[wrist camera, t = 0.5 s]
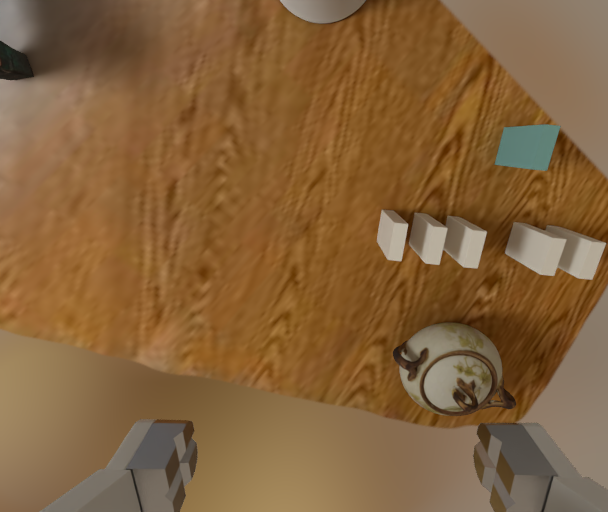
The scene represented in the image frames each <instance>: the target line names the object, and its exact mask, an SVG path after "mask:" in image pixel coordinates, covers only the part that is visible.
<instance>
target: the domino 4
mask: <svg viewBox="0 0 608 512" xmlns="http://www.w3.org/2000/svg"><path fill="white" fill-rule="evenodd" d="M566 240H567V239H565V238H562V237H560V236H557V235H555V234H552V233H550V232H547V231H544V230H542V229H539V228H537V227H534V226H532V225H529V224H527V223H518V222H514V223H513V227H512V230H511V234H510V237H509V240H508V244H507V247H506V251H505V254H507V255H508V256H510V257H512V258H513V259H515V260H517V261H518V262H520V263H522V264H523V265H525V266H527V267H528V268H530V269H532V270H533V271H535V272H537V273H539V274H540V275H550V276H554V275H555V272H556V269H557V266H558V263H559V260H560V257H561V254H562V252H563V249H564V246H565V243H566Z"/></svg>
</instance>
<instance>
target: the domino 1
mask: <svg viewBox="0 0 608 512" xmlns="http://www.w3.org/2000/svg"><path fill="white" fill-rule="evenodd" d="M407 229H408V223H407V222H406V221H404V220H403V219H402V218H401V217H400V216H399V215H398V214H397V213H396V212H395V211H393V210H382V212H381V218H380V224H379V230H378V236H377V242H378V244H379V246H380V247H381V249H382V251H383V253H384V254H385V256H386V258H387V259H388V260H395V261H401V260H402V255H403V250H404V245H405V239H406V234H407Z"/></svg>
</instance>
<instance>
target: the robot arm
mask: <svg viewBox="0 0 608 512" xmlns="http://www.w3.org/2000/svg"><path fill="white" fill-rule="evenodd" d="M280 1H281V2H282V4H283V5H284V6H285V7H286V8H287V9H288V10H289V11H290V12H292V13H293V14H294V15H296V16H297V17H299V18H301V19H303V20H306V21H309V22H313V23H331V22H336V21H339V20H342V19H344V18H346V17H348V16H349V15H351V14H352V13H354V12H355V11H356V10H358V9H359V8H360V7H361V6H362V5H363V4H364V2H365V1H366V0H280ZM193 433H194V427H193V423H192V421H186V420H158V419H157V420H147V419H140V420H139V421H137V422H136V423H135V424H134V426H133V427H132V429H131V430H130V432H129V433H128V435H127V436H126V438H125V439H124V441H123V442H122V444H121V446H120V447H119V448H118V450H117V452H116V453H115V455H114V456H113V458H112V459H111V461H110V462H109V464H108V465H107V467H106V469H100V470H98V471H97V472H95V473H94V474H92V475H91V476H89V477H88V478H87V479H85V480H84V481H82V482H81V483H80V484H78V485H77V486H75V487H74V488H72V489H71V490H70V491H68V492H67V493H65V494H64V495H63V496H61V497H60V498H58V499H57V500H56V501H54V502H53V503H51V504H50V505H48V506H47V507H46V508H44V509H43V510H41V511H40V512H180V509H181V507H182V504H183V502H184V499H185V496H186V495H185V489H184V486H185V485H187V483H189V482H190V481H191V480H192V477H193V475H194V472H195V468H196V463H197V444H196V442H195V441H194V440H193V439H192V435H193ZM477 435H478V437H479V439H480V442H479V443H478V444H476V445H475V447H474V455H473V457H474V465H475V469H476V473H477V475H478V478H479V480H480V482H481V484H482V486H484V487H485V488H486V489H487V490H488V491H489V492H491V497H490V504H491V506H492V508H493V510H494V512H608V490H607V489H606V488H604V487H603V486H601V485H600V484H598V483H597V482H595V481H593V480H592V479H590V478H589V477H582V476H581V475H580V474H579V472H578V471H577V470H576V468H575V467H574V466H573V465H572V463H571V462H570V461H569V460H568V458H567V457H566V456H565V454H564V453H563V452H562V451H561V449H560V448H559V447H558V446H557V444H556V443H555V442H554V441H553V439H552V438H551V437H550V435H549V434H548V433H547V432H546V430H545V429H544V428H543V427H542V426H541V425H540V424H538V423H480V425H479V426H478V429H477Z"/></svg>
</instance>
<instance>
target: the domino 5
mask: <svg viewBox="0 0 608 512" xmlns="http://www.w3.org/2000/svg"><path fill="white" fill-rule="evenodd" d="M545 231H547V232H550V233H552V234H555V235H557V236H560V237H562V238H565V239H567V240H566V243H565V246H564V249H563V252H562V254H561V257H560V260H559V263H558V266H557V267H558V268H560V269H562V270H564V271H566V272H567V273H569V274H571V275H573V276H575V277H577V278H581V279H591V280H592V279H593V276H594V274H595V271H596V268H597V266H598V263H599V261H600V258H601V255H602V253H603V250H604V248H605V245H606V243H605V242H602V241H599V240H596V239H593V238H591V237H588V236H585V235H582V234H579V233H576V232H574V231H571V230H568V229H565V228H562V227H559V226H550V225H547V227H546V230H545Z"/></svg>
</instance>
